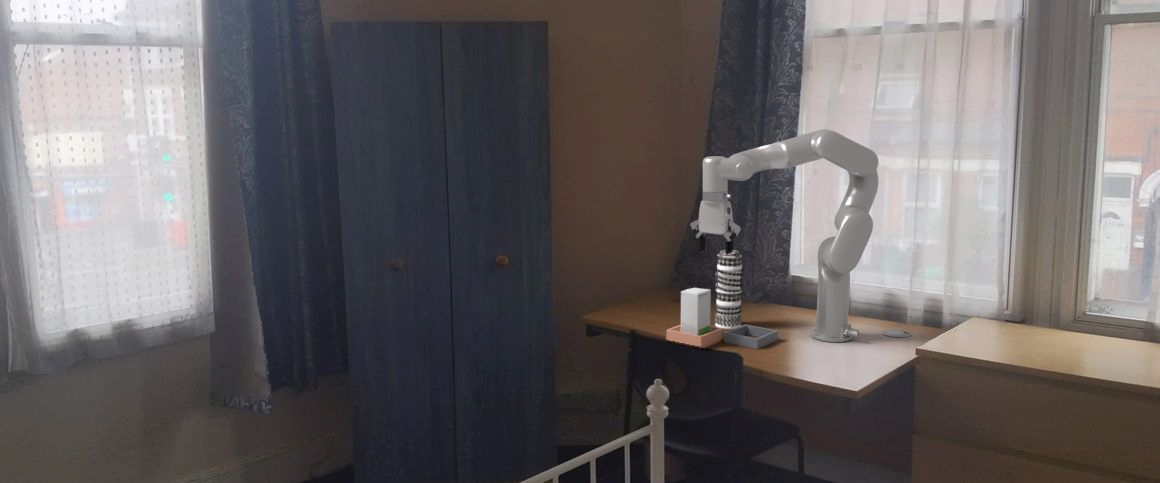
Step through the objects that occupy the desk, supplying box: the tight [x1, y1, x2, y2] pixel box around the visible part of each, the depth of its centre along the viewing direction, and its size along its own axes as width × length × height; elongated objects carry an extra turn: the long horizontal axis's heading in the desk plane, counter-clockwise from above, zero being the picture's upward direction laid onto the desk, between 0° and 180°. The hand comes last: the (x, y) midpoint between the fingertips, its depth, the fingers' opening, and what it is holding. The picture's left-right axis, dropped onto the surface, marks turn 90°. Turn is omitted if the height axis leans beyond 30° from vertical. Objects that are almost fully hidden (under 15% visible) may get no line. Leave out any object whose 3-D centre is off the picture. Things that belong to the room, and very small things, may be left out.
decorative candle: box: [714, 249, 745, 330], centre depth 300 cm, size 9×9×25 cm
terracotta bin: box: [665, 324, 725, 348], centre depth 284 cm, size 13×13×4 cm
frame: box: [723, 324, 779, 350], centre depth 284 cm, size 12×13×3 cm
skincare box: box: [680, 287, 712, 336], centre depth 283 cm, size 8×7×16 cm
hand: (715, 251), depth 285 cm, fingers open, 9 cm apart
